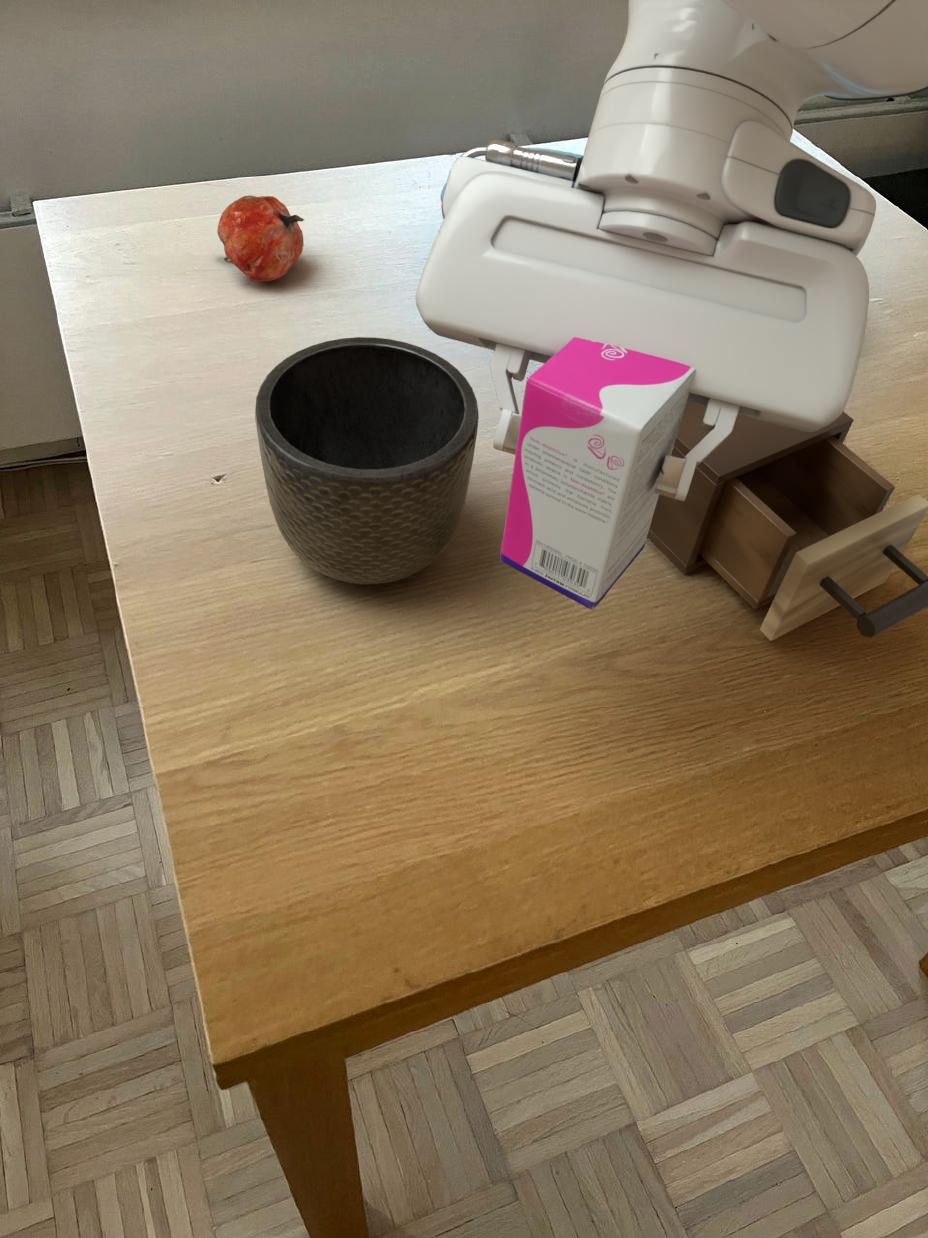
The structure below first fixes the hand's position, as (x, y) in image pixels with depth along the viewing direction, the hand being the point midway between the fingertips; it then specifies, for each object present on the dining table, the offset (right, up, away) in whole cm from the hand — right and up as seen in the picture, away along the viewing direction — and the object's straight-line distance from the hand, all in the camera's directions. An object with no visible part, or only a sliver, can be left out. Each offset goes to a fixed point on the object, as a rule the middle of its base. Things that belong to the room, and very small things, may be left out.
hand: (589, 474), depth 48 cm
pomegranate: (-25, +25, +46) cm, 58 cm away
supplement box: (0, -3, +5) cm, 6 cm away
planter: (-13, -2, +25) cm, 28 cm away
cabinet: (+12, +4, +32) cm, 34 cm away
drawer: (+17, -3, +25) cm, 31 cm away
